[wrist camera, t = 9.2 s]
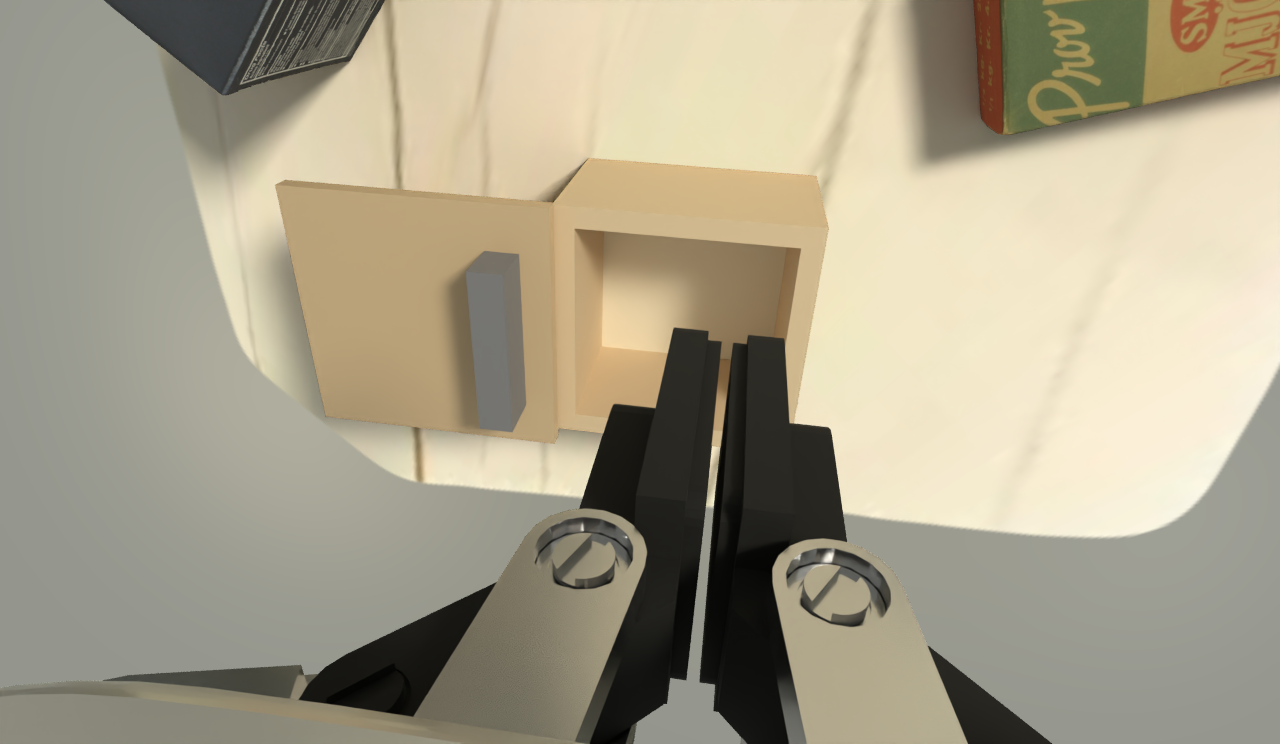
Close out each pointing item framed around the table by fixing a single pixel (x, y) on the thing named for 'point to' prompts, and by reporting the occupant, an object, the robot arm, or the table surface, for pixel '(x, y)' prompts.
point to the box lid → (428, 306)
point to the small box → (252, 35)
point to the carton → (1114, 55)
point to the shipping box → (677, 276)
